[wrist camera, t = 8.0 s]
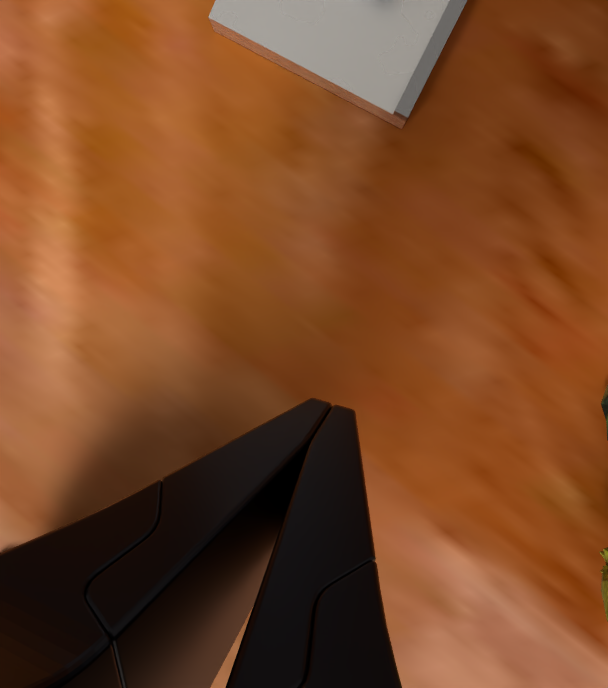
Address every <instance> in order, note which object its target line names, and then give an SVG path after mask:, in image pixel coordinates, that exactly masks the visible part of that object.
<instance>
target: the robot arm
mask: <svg viewBox="0 0 608 688" xmlns="http://www.w3.org/2000/svg"><path fill="white" fill-rule="evenodd" d="M375 559H376V558H375V550H374V543H373V536H372V529H371V522H370V514H369V507H368V500H367V493H366V486H365V478H364V471H363V464H362V457H361V449H360V442H359V435H358V428H357V421H356V414H355V411H354V410H352V409H349V408H346V407H343V406H339V405H334V406H333V407H332V404H331V403H329V402H326V401H322V400H319V399H315V398H311V399H308V400H306V401H305V402H303V403H301V404H299V405H297V406H295V407H293V408H292V409H290V410H288V411H286V412H284V413H282V414H280V415H279V416H277V417H275V418H273V419H271V420H269V421H267V422H266V423H264V424H262V425H260V426H258V427H256V428H254V429H253V430H251V431H249V432H247V433H245V434H243V435H241V436H240V437H238V438H236V439H234V440H232V441H230V442H228V443H226V444H225V445H223V446H221V447H219V448H217V449H215V450H213V451H212V452H210V453H208V454H206V455H204V456H202V457H200V458H199V459H197V460H195V461H193V462H191V463H189V464H187V465H186V466H184V467H182V468H180V469H178V470H176V471H174V472H173V473H171V474H169V475H167V476H165V477H163V479H162V481H161V480H157V481H155V482H154V483H152V484H150V485H148V486H146V487H144V488H142V489H141V490H139V491H137V492H135V493H133V494H131V495H129V496H127V497H125V498H123V499H121V500H119V501H117V502H115V503H113V504H111V505H109V506H107V507H105V508H103V509H101V510H99V511H96V512H94V513H92V514H90V515H88V516H85V517H83V518H81V519H79V520H77V521H74V522H72V523H70V524H68V525H65V526H63V527H61V528H59V529H56V530H54V531H52V532H49V533H47V534H45V535H42V536H40V537H38V538H35V539H33V540H31V541H28V542H26V543H24V544H21V545H19V546H17V547H14V548H12V549H10V550H7V551H5V552H3V553H1V554H0V688H210V687H211V685H212V683H213V681H214V679H215V677H216V675H217V673H218V671H219V670H220V668H221V666H222V664H223V662H224V660H225V658H226V656H227V654H228V653H229V651H230V649H231V647H232V645H233V643H234V641H235V639H236V637H237V635H238V634H239V632H240V630H241V628H242V626H243V624H244V622H245V620H246V618H247V616H248V615H249V613H250V611H251V609H252V607H253V609H252V612H251V615H250V618H249V621H248V624H247V627H246V629H245V632H244V635H243V638H242V641H241V644H240V647H239V650H238V653H237V656H236V659H235V662H234V665H233V667H232V670H231V673H230V676H229V679H228V682H227V685H226V688H402V686H401V682H400V678H399V675H398V671H397V667H396V663H395V658H394V654H393V650H392V646H391V642H390V637H389V633H388V629H387V625H386V619H385V613H384V608H383V602H382V596H381V591H380V584H379V577H378V570H377V564H376V562H375ZM253 605H254V606H253Z"/></svg>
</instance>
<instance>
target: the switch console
mask: <svg viewBox="0 0 608 688" xmlns="http://www.w3.org/2000/svg"><path fill="white" fill-rule="evenodd" d="M466 2H467V0H216V1H215V3H214V6H213V8H212V10H211V13H210V15H209V17H208V18H209V20H210V22H211V24H212V27H213V29H214V31H215V32H217V33H219V34H221V35H223V36H225V37H227V38H229V39H230V40H232V41H234V42H236V43H238V44H240V45H242V46H244V47H246V48H248V49H250V50H251V51H253V52H255V53H257V54H259V55H261V56H263V57H265V58H267V59H269V60H271V61H272V62H274V63H276V64H278V65H280V66H282V67H284V68H286V69H288V70H290V71H292V72H293V73H295V74H297V75H299V76H301V77H303V78H305V79H307V80H309V81H311V82H312V83H314V84H316V85H318V86H320V87H322V88H324V89H326V90H328V91H330V92H332V93H333V94H335V95H337V96H339V97H341V98H343V99H345V100H347V101H349V102H351V103H353V104H354V105H356V106H358V107H360V108H362V109H364V110H366V111H368V112H370V113H372V114H374V115H375V116H377V117H379V118H381V119H383V120H385V121H387V122H389V123H391V124H393V125H395V126H396V127H398V128H400V129H402V128H403V126H404V124H405V122H406V120H407V118H408V116H409V114H410V112H411V110H412V108H413V106H414V104H415V102H416V100H417V99H418V97H419V95H420V93H421V91H422V89H423V87H424V85H425V83H426V81H427V79H428V77H429V75H430V73H431V71H432V69H433V67H434V65H435V63H436V61H437V59H438V57H439V55H440V53H441V51H442V49H443V47H444V45H445V43H446V41H447V39H448V37H449V35H450V33H451V31H452V29H453V27H454V25H455V24H456V22H457V20H458V18H459V16H460V14H461V12H462V10H463V8H464V6H465V4H466Z"/></svg>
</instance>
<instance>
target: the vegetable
mask: <svg viewBox="0 0 608 688" xmlns="http://www.w3.org/2000/svg"><path fill="white" fill-rule="evenodd" d="M601 405H602V409H603V412H604V415H605V418H606V424H607V440H608V385H607V387H606V390H605V393H604V396H603V399H602V402H601ZM603 550H604V551H602V552H600V554H601V555H602V556H603V558H604V559H605V561H606V566H603V569H602V570H601V572H602V585H601V592H602V597H603V602H604V608H605V613H606V618H607V621H608V548H605V549H603Z"/></svg>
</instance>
